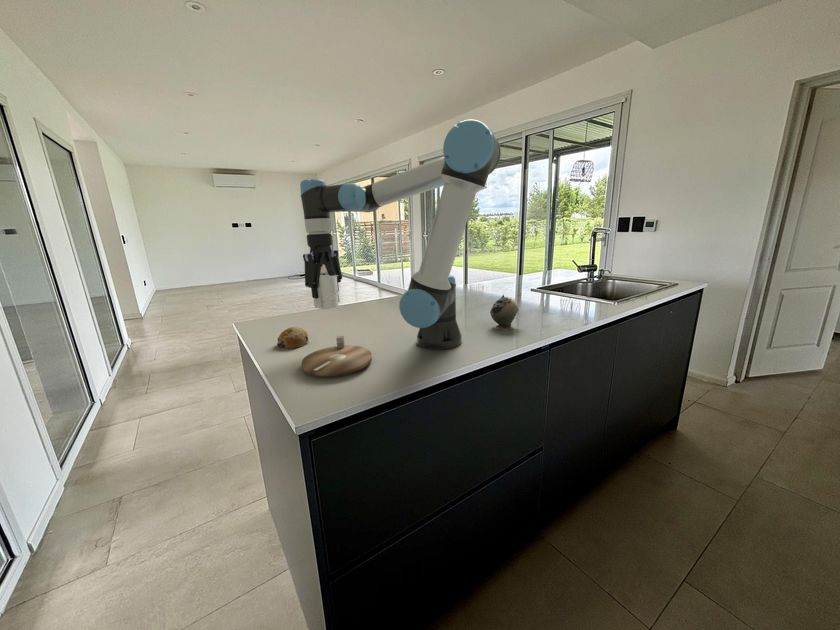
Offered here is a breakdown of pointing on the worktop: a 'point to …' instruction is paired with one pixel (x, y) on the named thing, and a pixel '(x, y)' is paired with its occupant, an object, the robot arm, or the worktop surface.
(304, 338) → the bread roll
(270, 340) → the worktop surface
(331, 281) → the white cup
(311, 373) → the turntable
